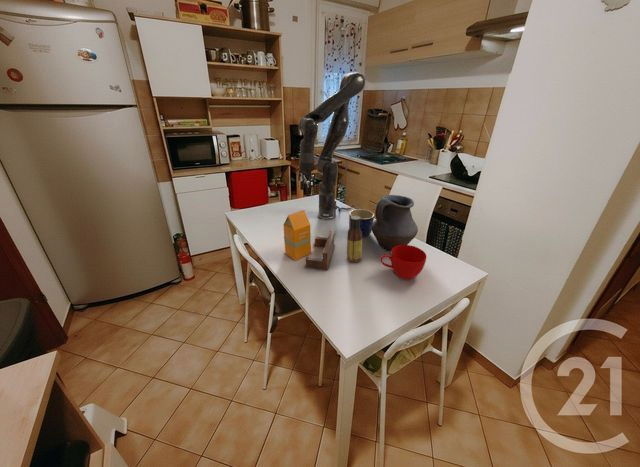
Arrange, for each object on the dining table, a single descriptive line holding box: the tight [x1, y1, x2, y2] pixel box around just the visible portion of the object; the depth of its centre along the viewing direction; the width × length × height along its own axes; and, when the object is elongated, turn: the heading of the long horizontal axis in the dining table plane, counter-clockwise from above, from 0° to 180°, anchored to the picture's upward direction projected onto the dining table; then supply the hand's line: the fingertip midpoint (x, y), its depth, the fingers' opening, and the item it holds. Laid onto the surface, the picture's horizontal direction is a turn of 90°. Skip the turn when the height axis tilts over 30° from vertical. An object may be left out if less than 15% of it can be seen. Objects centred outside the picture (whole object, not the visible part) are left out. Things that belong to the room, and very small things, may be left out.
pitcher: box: [371, 194, 419, 252], centre depth 118 cm, size 21×22×25 cm
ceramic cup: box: [379, 244, 428, 280], centre depth 103 cm, size 13×17×10 cm
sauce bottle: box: [346, 216, 363, 263], centre depth 110 cm, size 7×6×20 cm
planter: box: [348, 208, 375, 238], centre depth 133 cm, size 12×12×11 cm
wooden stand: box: [305, 230, 336, 271], centre depth 115 cm, size 9×20×8 cm, turn 169°
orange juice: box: [283, 209, 312, 261], centre depth 114 cm, size 8×9×20 cm
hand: (305, 191), depth 140 cm, fingers open, 8 cm apart
